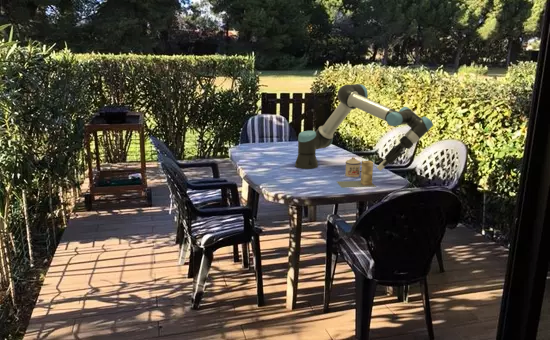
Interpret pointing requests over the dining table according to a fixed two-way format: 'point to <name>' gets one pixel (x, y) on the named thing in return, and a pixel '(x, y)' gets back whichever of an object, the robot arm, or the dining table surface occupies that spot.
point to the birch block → (366, 172)
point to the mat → (353, 184)
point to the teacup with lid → (353, 168)
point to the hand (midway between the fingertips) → (378, 169)
